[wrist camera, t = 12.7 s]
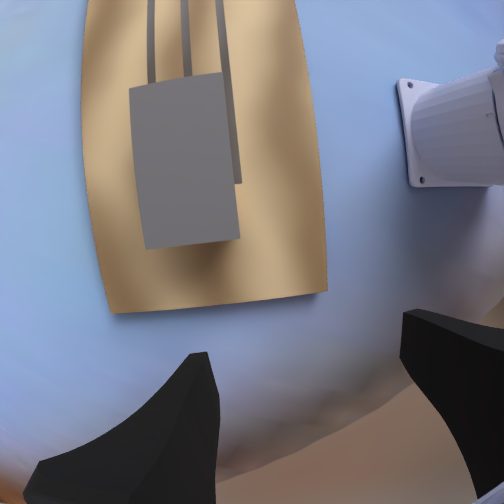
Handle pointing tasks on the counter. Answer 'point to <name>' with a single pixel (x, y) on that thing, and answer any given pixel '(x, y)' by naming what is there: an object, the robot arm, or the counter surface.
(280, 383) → the counter surface
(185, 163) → the block
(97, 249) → the board
